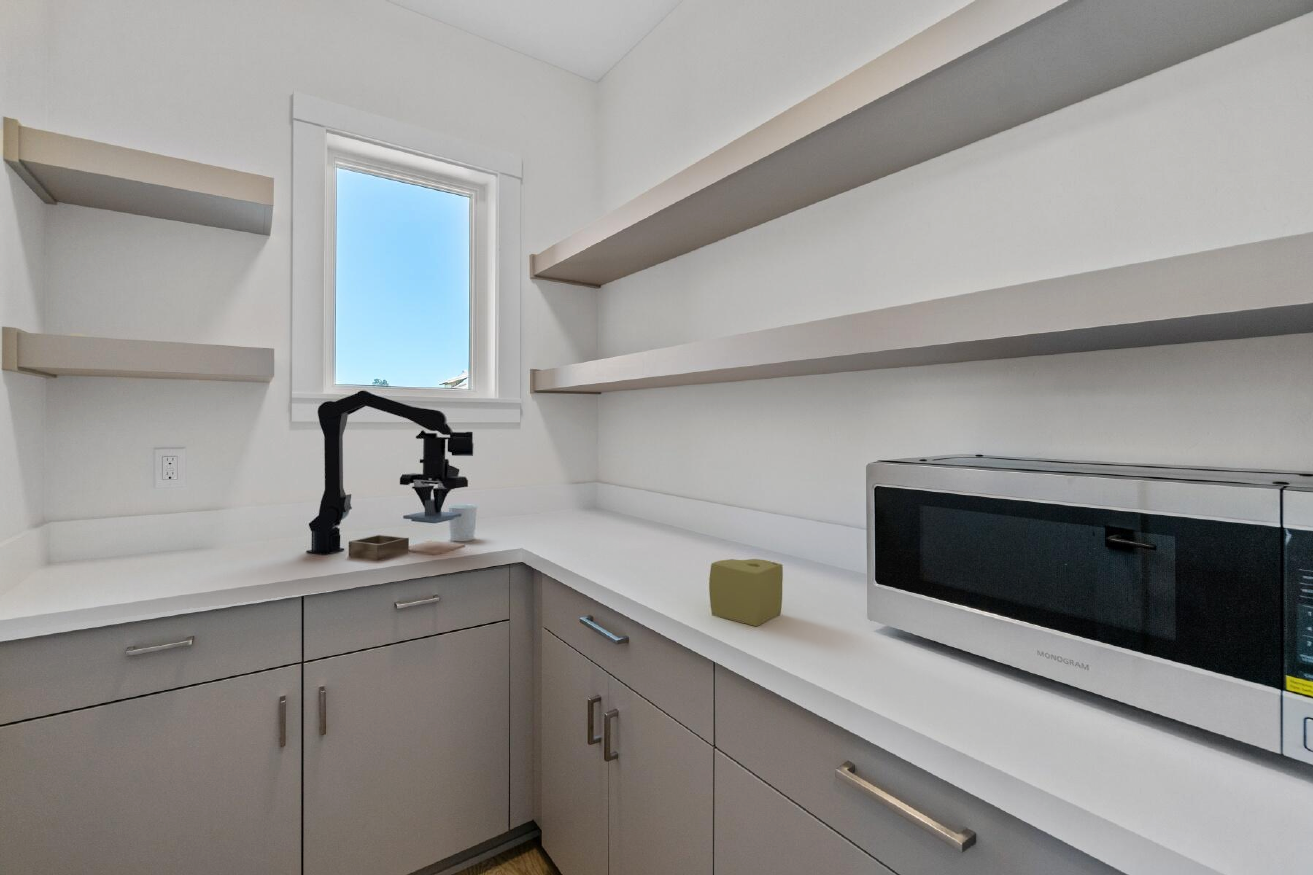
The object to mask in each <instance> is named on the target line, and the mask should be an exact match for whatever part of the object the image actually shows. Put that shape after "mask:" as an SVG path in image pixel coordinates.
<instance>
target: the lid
mask: <svg viewBox="0 0 1313 875" xmlns="http://www.w3.org/2000/svg"><path fill="white" fill-rule="evenodd" d="M460 516H461V513H451V512H449V511H442V510H441V511H440V512H439V513H436V509H435V503H434V498H431V499H430V500H425V508H424V511H422V512H421V511H419V512H416V513H410V514H405V515H403V517H402V518H403V520H405V519H406V520H410V521H411V522H417V523H423V524H424V523H427V524H438V523H443V522H449V520H453V519H454V518H455V517H460Z"/></svg>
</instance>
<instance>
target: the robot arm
mask: <svg viewBox="0 0 1313 875" xmlns="http://www.w3.org/2000/svg"><path fill="white" fill-rule="evenodd" d="M365 407H369V408H371V409H375V410H378V411H382V412H385V413H388V414H392V415H395V416H397V417H399V418H403V419H407V420H408V421H411V422H412V423H415V424H416V425H419V426H420V427H422V428H424V429H426V430H429V431H430V432H426V431H425V430H424V429H422V430H421V431H420V432H419V433H418V434H417V435H415V439H416V440H417V439H419V440H422V443H423V445H422V446H423V450H422V458H420V459H419V464H422V473H406V474H403V473H402V474H401V476H400V477H399V485H402V486H410V484H413V485H412V486H411V489H412V490H414V491H415V492H416V495H417V496H418V498H419V500H420V502H421V503H422V506H423V508H424V509H425V500H430V499H432V494H433V499H434V503H435V509H436V513H439V512H440V511H441V512H442V508H443V505H444V502H445V500H446V499H447V495H448V494H449V493H450V492H451V491H452V490H455V489H460V488H462V489H463V488H467V487H469V480H468V478H467V477H466V476H462V475H461V476H460V475H459V473H460V469H459V468H457V467H455V466H453V465H451V464H450V461H449V458H446V440H447V453H451V456H452V457H454V456H457V457H461V456H462V457H473V456H474V441H473V440H474V439H473V438H474V436H473V434H474V433H473V431H463V432H462V431H460V432H459V431H453V428H451V426H449V425H448V423H447V421H448V420H447V416H446V414H445V413H444V412H442V411H441V410H438V409H437V410H436V409H431V408H423V407H418V406H417V407H416V406H412V405H409V404H406V403H403V402H399V401H396V400H393V399H390V398H387V397H384V396H381V395H378V394H375V393H372V392H371V391H369V390H359V391H358V392H356V393H354V394H351V395H348V396H345V397H342V398H340V399H338V400H336V401H334V400H333V401H332V400H328V401H327V400H326V401H324V402H323V403H321V404H320V405H319V406H318V408H317V417H318V422H319V426H320V429H321V431H322V433H323V436H324V437H323V440H324V441H323V442H324V444H323V445H324V446H323V447H324V449H323V450H324V491H323V494H322V497H321V500H320V504H319V509H318V510H319V511H318V515H317V516H316V517H314V519H313V520H311V521H310V522H309V523H308V527H309V529H310V532H311V549H308V550H306V551H305V553H306V554H313V555H314V554H315V555H322V556H323V555H325V556H326V555H329V554H333V553H334V554H335V553H337V552H342V551H345V548H344V547H341V533H340V532H341V530H340V528H339V526H340V524H341V523H342V521H343V520H344V519H346V517H348V516H349V513H350V510H352V509H353V507H352V504H351V499H352V494H351V493H350V494H346V490H345V489H344V453H343V451H344V450H343V448H344V447H343V445H344V443H343V442H344V441H343V440H344V439H343V438H344V437H343V436H344V432H345V429H346V426H347V423H348V417H349V415H351V414H353V413H356V412H358V411H359V410H361V409H364V408H365ZM431 431H432V432H431ZM436 432H438V433H440V434H441V435H444V436H438V433H436ZM435 485H437V487H435Z"/></svg>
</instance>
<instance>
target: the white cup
mask: <svg viewBox="0 0 1313 875" xmlns="http://www.w3.org/2000/svg"><path fill="white" fill-rule="evenodd" d="M477 507H478V506H477V505H475V504H469V503H468V504H466V503H465V504H450V505H449V506H448V512H451V513H461V516H460V517H455V518H454V519H453V520H449V521H448V523H449V535H450V536H449V537H450V538H449V539H450V541H452V542H469V541H473V540H474V539H475V530H476V522H477Z"/></svg>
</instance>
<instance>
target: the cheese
mask: <svg viewBox="0 0 1313 875" xmlns="http://www.w3.org/2000/svg"><path fill="white" fill-rule="evenodd" d="M783 570H784V569H783V564H782V563H779V562H778V563H777V562H775V561H771V560H765V559H760V558H752V559H751V558H750V559H735V558H731V559H724V560H716V561H714V562H711V565H710V570H709V571H710V572H709V578H708V580H709V582H708V588H709V589H708V590H709V604H710V609H711V610H710V611H711V616H714V617H718V618H720V619H721V618H723V619H726V620H729V621H733V622H738V623H743V624H745V623H746V625H748V626H749V625H751V626H752V627H753V626H754V627H758V626H760V625H763V624H764V623H766V622H768V621H769V620H770V621H771V618H772V619H774V618H775V616H776V617H778V616H780V615H781V614H782V604H783V581H784V578H783V577H784V574H783V573H784V572H783ZM777 615H778V616H777ZM762 623H763V624H762Z"/></svg>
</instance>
